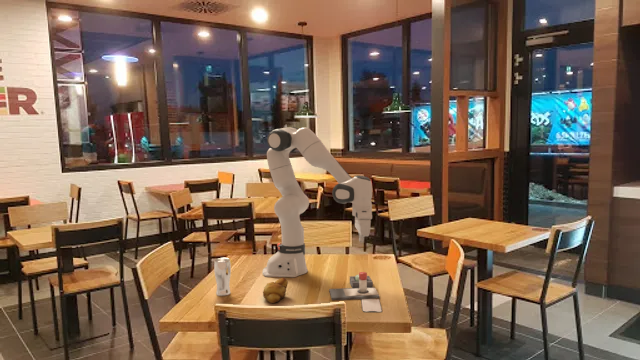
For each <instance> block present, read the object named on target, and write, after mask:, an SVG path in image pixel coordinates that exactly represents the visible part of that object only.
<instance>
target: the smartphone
mask: <svg viewBox="0 0 640 360" xmlns="http://www.w3.org/2000/svg"><path fill="white" fill-rule="evenodd" d="M360 301H361V311H363V312H362V313H383V307H382V304H381V300H380V298H376V299H360Z"/></svg>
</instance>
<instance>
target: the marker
mask: <svg viewBox="0 0 640 360" xmlns="http://www.w3.org/2000/svg"><path fill="white" fill-rule="evenodd" d="M358 275H359V292H362V293H365V292H367V276H368V272H366V271H359V273H358Z"/></svg>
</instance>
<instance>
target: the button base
mask: <svg viewBox="0 0 640 360" xmlns="http://www.w3.org/2000/svg"><path fill="white" fill-rule="evenodd" d="M355 276H356V275H353V276H352V275H351V276H349V284H350V286H351V287H350V288H359V281H358V282H355ZM367 287H374V282H373V280H372V278H371V276H370V275H367Z"/></svg>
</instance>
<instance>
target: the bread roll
mask: <svg viewBox="0 0 640 360" xmlns="http://www.w3.org/2000/svg"><path fill="white" fill-rule="evenodd" d="M288 284H289V282H288V280H287V279H286V277H279V278H278V279H277V280H275V282H274V281H270V282H268V283H266V284H265V286H264V287H263V291H262V296H263V299H265V300H267V302H268V303H270V304H275V303H279V302H280V300H283V299H284V298H285V296H286V291H287V288H288Z"/></svg>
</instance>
